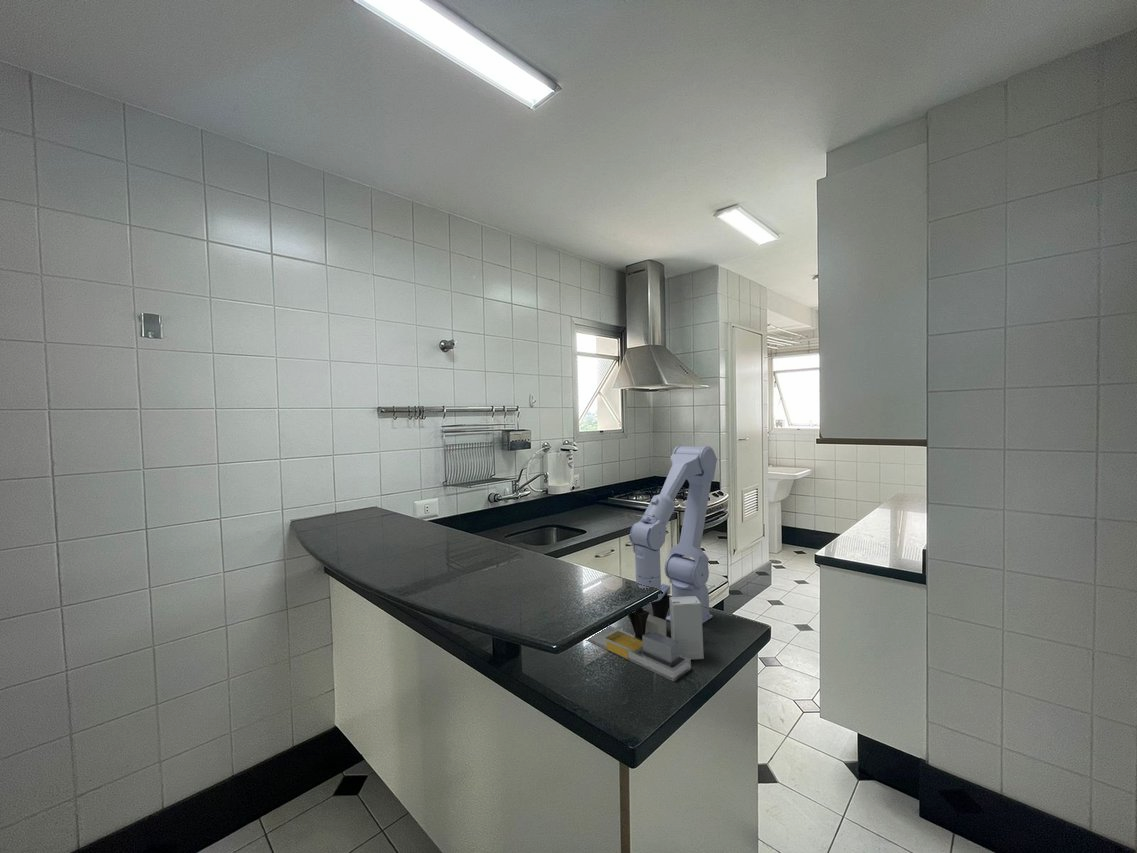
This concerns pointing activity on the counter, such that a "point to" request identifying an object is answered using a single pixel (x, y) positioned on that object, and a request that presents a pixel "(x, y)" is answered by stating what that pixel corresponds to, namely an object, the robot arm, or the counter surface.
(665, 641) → the tray
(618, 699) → the counter surface
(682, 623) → the skincare box
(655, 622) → the tall white prism
